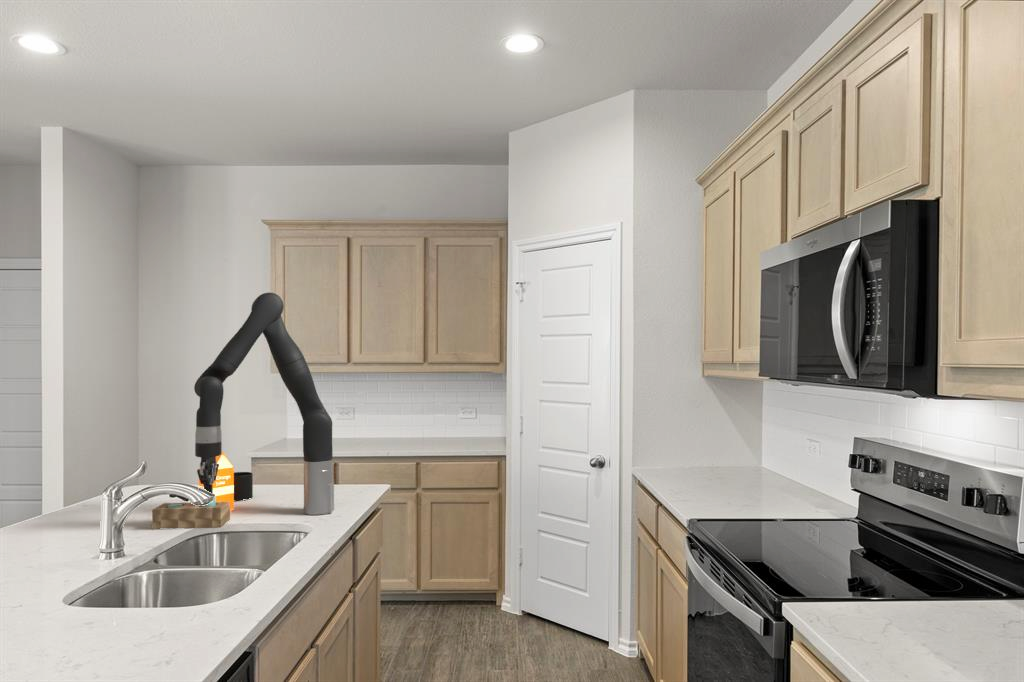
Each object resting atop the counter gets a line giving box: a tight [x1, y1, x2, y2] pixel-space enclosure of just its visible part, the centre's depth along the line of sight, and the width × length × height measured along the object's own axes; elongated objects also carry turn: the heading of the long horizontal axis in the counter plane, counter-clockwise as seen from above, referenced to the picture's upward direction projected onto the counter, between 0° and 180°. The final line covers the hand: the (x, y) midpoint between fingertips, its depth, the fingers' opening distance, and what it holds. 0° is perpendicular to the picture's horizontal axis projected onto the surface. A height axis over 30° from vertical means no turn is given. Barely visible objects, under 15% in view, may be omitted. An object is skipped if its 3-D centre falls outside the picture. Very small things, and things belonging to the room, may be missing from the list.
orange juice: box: [198, 452, 235, 510], centre depth 237 cm, size 8×9×20 cm
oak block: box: [151, 501, 231, 530], centre depth 217 cm, size 20×9×6 cm, turn 95°
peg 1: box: [168, 504, 182, 508], centre depth 217 cm, size 4×4×6 cm
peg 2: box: [202, 496, 216, 507], centre depth 218 cm, size 4×4×6 cm
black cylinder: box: [234, 471, 254, 500], centre depth 258 cm, size 9×12×9 cm
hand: (208, 496), depth 218 cm, fingers closed
